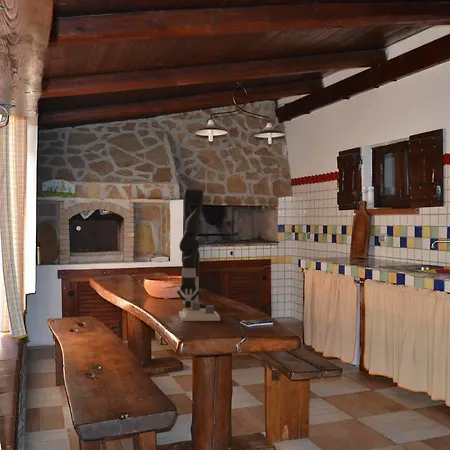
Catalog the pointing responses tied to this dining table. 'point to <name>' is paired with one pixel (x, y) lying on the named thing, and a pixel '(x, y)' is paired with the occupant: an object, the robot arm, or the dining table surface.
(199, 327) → the dining table surface
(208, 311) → the tab
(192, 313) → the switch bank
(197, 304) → the tab
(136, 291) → the dining table surface
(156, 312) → the dining table surface
